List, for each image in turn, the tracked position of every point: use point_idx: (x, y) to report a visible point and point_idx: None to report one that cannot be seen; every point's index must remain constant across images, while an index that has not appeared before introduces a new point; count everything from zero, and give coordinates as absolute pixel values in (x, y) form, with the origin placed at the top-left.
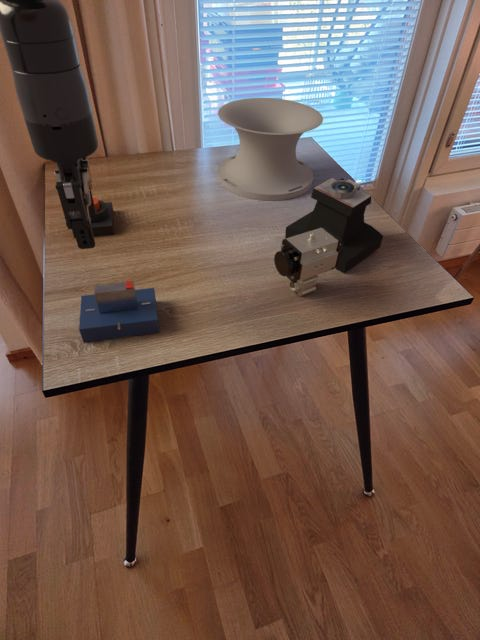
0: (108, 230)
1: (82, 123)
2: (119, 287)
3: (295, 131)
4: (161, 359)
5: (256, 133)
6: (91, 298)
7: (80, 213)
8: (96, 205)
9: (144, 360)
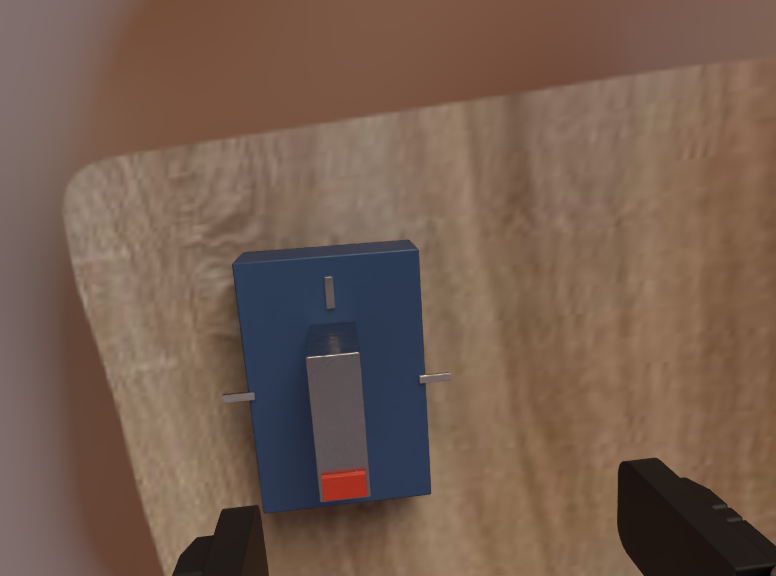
0: None
1: None
2: (336, 449)
3: None
4: (156, 487)
5: None
6: (397, 287)
7: (631, 465)
8: None
9: (154, 441)
